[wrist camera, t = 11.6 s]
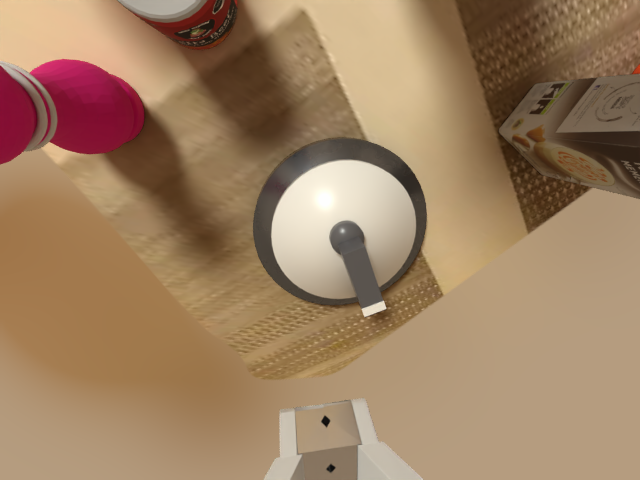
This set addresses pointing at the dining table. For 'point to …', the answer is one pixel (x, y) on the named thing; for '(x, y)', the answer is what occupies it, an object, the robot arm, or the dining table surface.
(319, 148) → the dial housing
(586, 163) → the coffee box
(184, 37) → the canned food
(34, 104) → the pepper mill
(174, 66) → the dining table surface
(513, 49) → the dining table surface
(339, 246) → the dial
